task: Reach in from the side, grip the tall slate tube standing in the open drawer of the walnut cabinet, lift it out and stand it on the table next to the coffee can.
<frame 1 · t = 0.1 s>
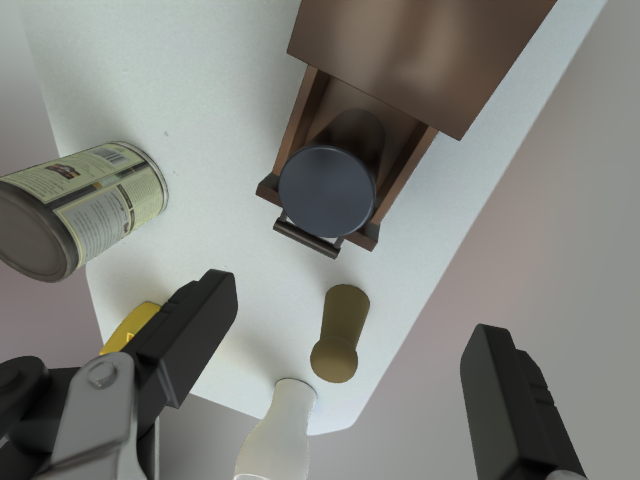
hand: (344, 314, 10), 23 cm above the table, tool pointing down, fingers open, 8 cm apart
coffee can: (133, 181, 39), on the table
pepper shaker: (347, 301, 41), on the table
drawer: (342, 165, 27), point 4 cm above the table, slide at 10.0 cm, touching slate tube
cup: (296, 390, 55), on the table
teapot: (172, 329, 54), on the table
slate tube: (355, 139, 28), point 2 cm above the table, touching drawer
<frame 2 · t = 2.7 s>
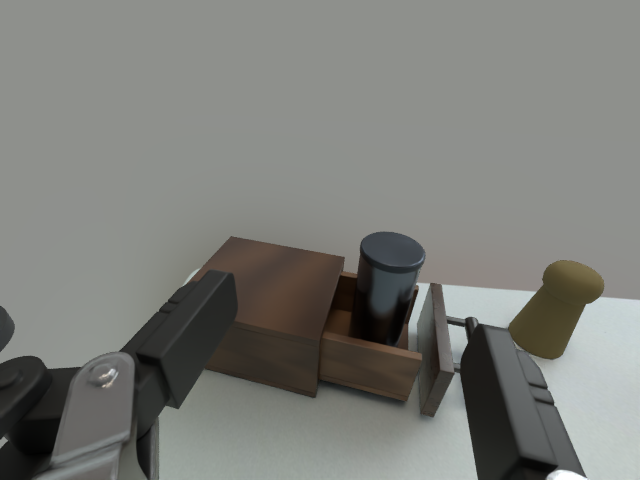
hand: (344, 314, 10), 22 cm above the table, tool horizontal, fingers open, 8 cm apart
pepper shaker: (534, 339, 38), on the table
drawer: (392, 334, 32), point 4 cm above the table, slide at 10.0 cm, touching slate tube
slate tube: (371, 344, 34), point 2 cm above the table, touching drawer
cabinet: (269, 333, 37), on the table
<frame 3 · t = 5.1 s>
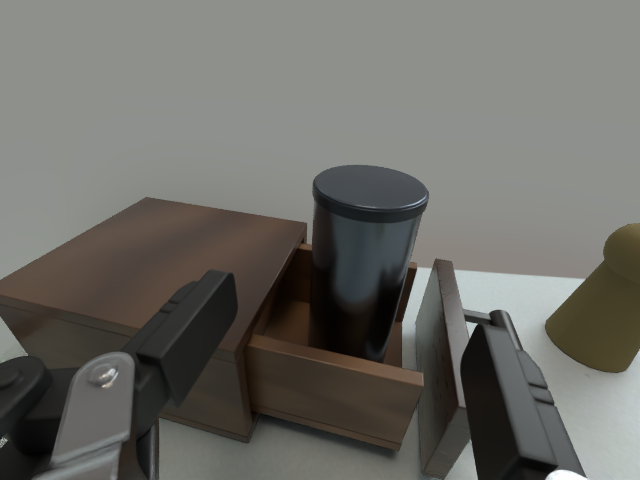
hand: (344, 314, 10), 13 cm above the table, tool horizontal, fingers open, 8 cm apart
pepper shaker: (584, 342, 27), on the table
drawer: (375, 338, 20), point 4 cm above the table, slide at 10.0 cm, touching slate tube
slate tube: (345, 354, 22), point 2 cm above the table, touching drawer
cabinet: (197, 336, 25), on the table
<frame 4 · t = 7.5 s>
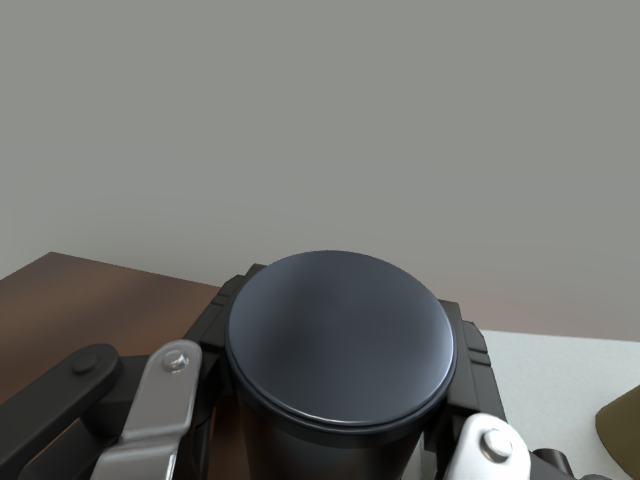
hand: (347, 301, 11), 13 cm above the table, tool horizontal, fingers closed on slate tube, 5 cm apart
cabinet: (112, 454, 18), on the table
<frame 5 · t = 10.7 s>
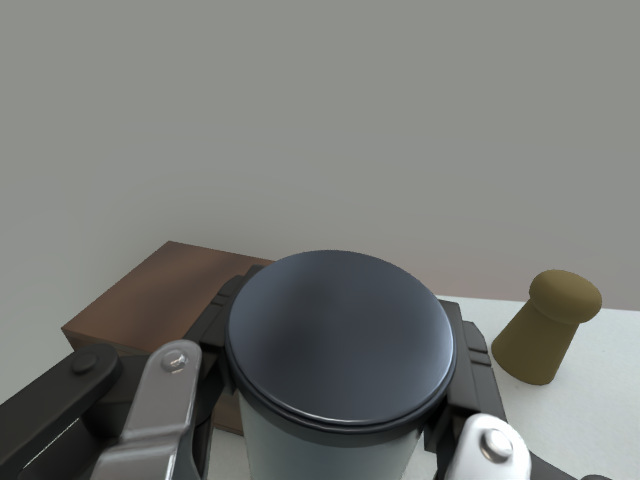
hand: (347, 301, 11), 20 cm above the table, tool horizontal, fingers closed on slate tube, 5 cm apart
pepper shaker: (521, 359, 33), on the table
cabinet: (210, 354, 31), on the table
when the fingers open (11 cm above the table, at t = 14.3 s): slate tube stays where it is, on the table.
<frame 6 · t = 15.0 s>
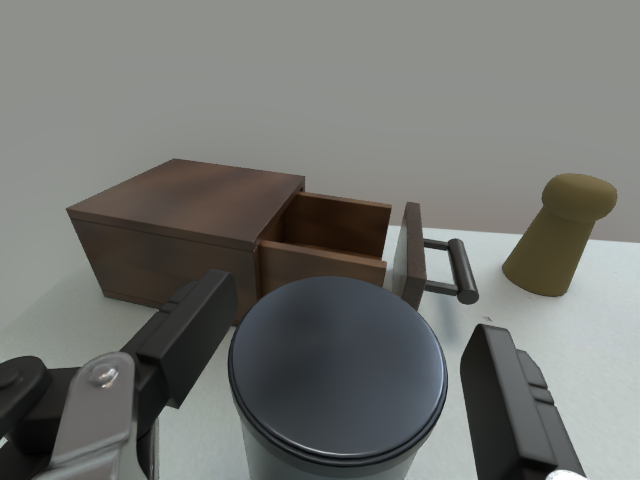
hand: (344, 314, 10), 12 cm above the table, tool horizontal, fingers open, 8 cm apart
pepper shaker: (532, 278, 32), on the table
drawer: (357, 258, 26), point 4 cm above the table, slide at 10.0 cm
cabinet: (216, 269, 31), on the table
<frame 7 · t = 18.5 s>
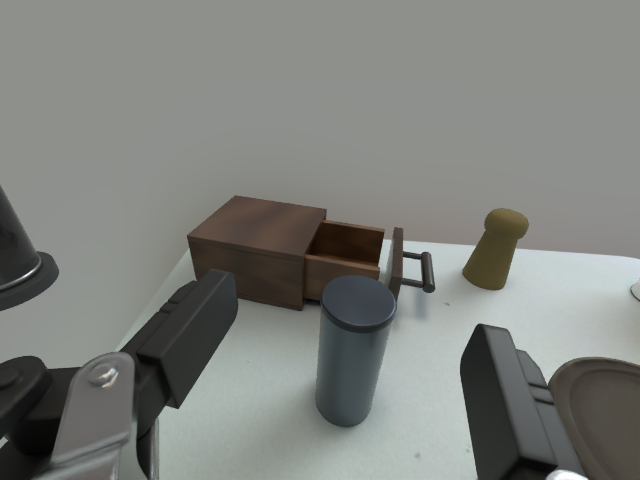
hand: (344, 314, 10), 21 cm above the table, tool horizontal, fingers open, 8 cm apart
pepper shaker: (483, 277, 47), on the table
drawer: (362, 265, 41), point 4 cm above the table, slide at 10.0 cm
slate tube: (343, 397, 29), on the table
cabinet: (266, 271, 45), on the table
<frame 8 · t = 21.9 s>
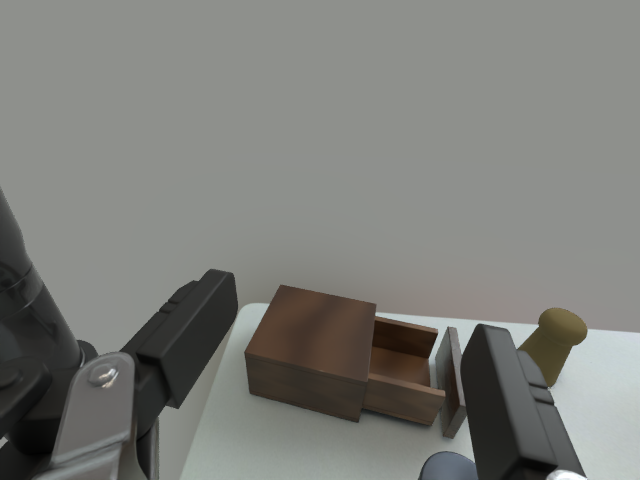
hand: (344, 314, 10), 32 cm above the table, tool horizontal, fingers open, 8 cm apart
pepper shaker: (532, 369, 46), on the table
drawer: (417, 370, 40), point 4 cm above the table, slide at 10.0 cm
cabinet: (314, 366, 45), on the table
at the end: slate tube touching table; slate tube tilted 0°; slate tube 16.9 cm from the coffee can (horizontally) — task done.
